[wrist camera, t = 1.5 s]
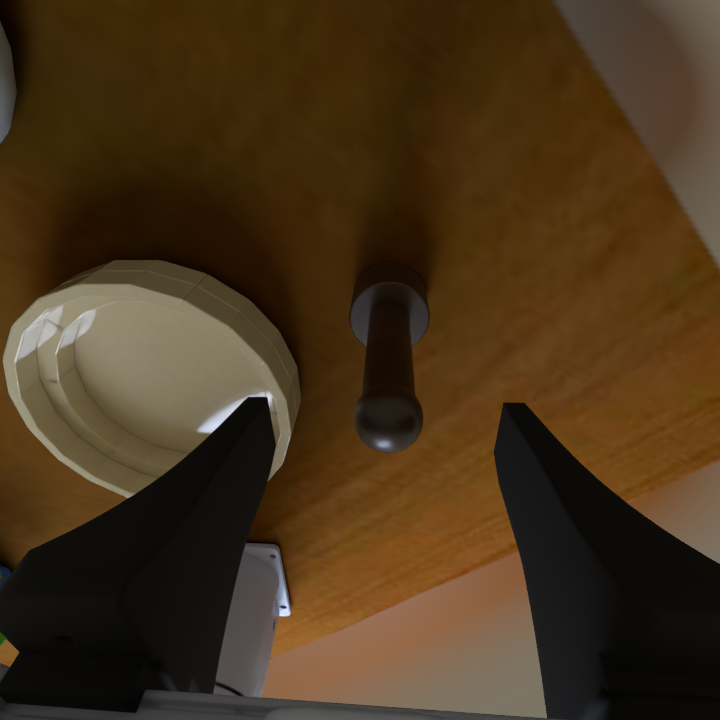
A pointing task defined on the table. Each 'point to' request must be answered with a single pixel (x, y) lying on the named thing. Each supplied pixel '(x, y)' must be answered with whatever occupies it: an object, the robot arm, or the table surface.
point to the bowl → (144, 369)
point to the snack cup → (3, 573)
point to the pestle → (389, 354)
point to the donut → (6, 85)
